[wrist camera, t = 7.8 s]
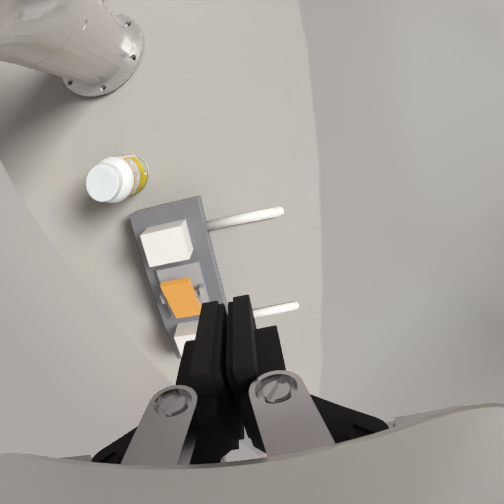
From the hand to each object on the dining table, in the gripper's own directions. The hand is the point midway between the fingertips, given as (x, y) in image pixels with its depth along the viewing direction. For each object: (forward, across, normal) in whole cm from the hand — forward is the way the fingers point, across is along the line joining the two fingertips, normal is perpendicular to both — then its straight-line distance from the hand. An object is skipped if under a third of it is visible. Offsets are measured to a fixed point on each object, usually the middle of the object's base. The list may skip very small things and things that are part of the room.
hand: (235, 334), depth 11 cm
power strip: (+31, +4, +10) cm, 33 cm away
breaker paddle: (+26, +9, +10) cm, 29 cm away
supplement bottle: (+31, +13, -6) cm, 34 cm away
